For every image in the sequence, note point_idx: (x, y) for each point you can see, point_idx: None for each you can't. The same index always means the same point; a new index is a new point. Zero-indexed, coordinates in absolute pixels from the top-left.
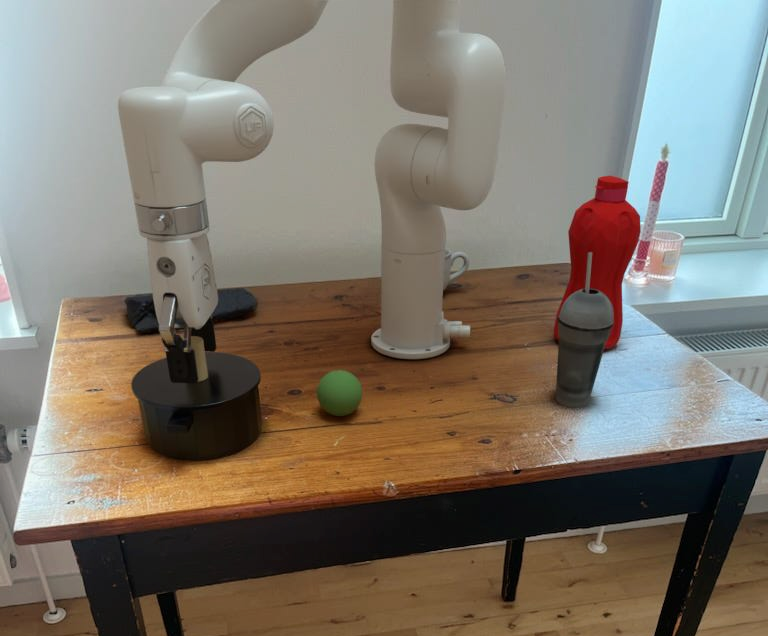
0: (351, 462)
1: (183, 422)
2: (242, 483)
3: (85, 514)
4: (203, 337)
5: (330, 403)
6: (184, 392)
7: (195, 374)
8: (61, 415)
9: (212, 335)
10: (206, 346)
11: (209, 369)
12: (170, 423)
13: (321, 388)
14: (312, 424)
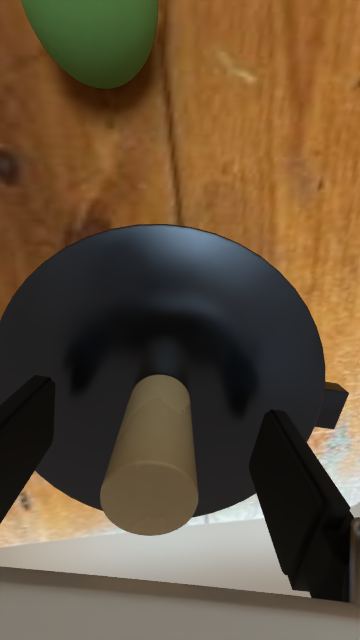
0: (330, 44)
1: (332, 400)
2: (343, 273)
3: (355, 459)
4: (26, 439)
5: (150, 39)
6: (243, 419)
7: (294, 428)
8: (103, 523)
9: (20, 414)
10: (45, 409)
11: (113, 373)
12: (328, 422)
13: (112, 41)
14: (156, 130)
